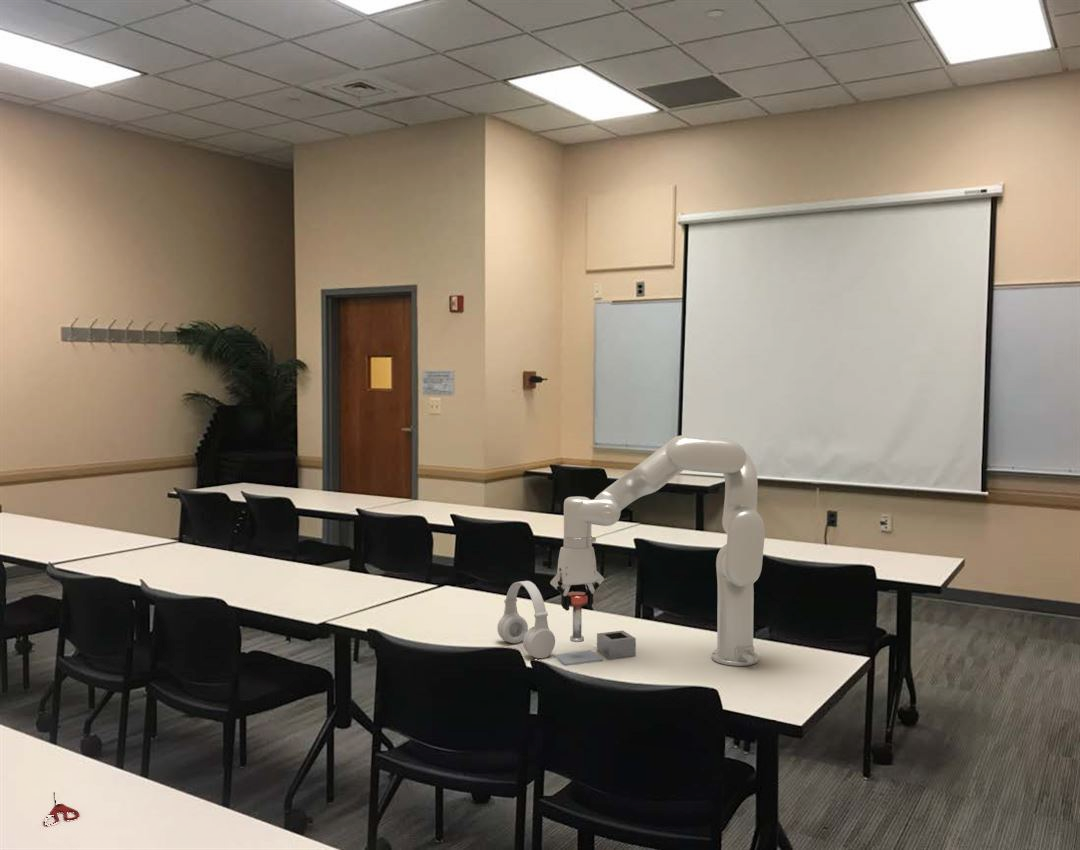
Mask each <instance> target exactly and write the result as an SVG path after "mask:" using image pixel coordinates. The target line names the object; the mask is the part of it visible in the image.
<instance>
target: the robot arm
mask: <svg viewBox="0 0 1080 850" xmlns="http://www.w3.org/2000/svg"><path fill="white" fill-rule="evenodd" d="M683 471H690V472H699V473H700V472H701V473H711V474H722V475H723V478H724V482H725V483H724V485H725V487H724V503H723V511H722V513H723V514H722V519H721V522H722V523H721V524H722V529H723V531H724V533H725V534H727V536H726V537H727V538H726V543H725V545H723V546H721V548H720V549H719V551H718V553H717V555H716V561H715V567H716V580H717V608H716V609H717V615H716V616H717V617H716V618H717V622H716V623H717V626H716V627H717V628H716V629H717V632H716V633H717V634H716V635H717V638H716V640H717V645H716V649H714V650H713V651H712V652H711V653H710V655H711V659H712V660H713V661H714V662H715V663H717V664H723V665H726V666H727V665H728V666H731V667H732V666H734V667H746V666H752V665H755V664H757V663H758V662H759V661H760V656H759V654H758V653H756V652H755V646H754V605H755V604H754V599H755V598H754V595H755V592H754V590H755V589H754V583H755V582H756V581H758V579H759V577H760V576H761V573H762V569H763V568H762V567H763V559H764V558H763V557H764V550H765V549H764V548H765V535H766V530H765V523H764V520H763V518H762V516H761V515H760V513H758V508H757V507H758V506H757V505H758V488H759V487H758V473H757V471H756V467H755V465H754V463H753V460H752V459H751V458H750V456H749V454H748V453H747V452H746V450H745V448H744V447H743V446H742V445H741V444H740V443H739V442H737V441H734V440H732V439H729V438H718V439H716V440H713V439H712V440H711V439H699V438H693V437H690V436H687V435H678V436H675V437H673V438H672V439H670V440H669V441H667V442H666V443H664V444H663V445H662V446H661V447H660V448H658V449H657V450H656V451H654V452H653V453H651V455H649V457H647V458H645V459H644V460H643V461H642V462H641V463H639V464H637V465H636V466H635V467H634V468H632V469H631V470H629V471H628V472H627V473H625V474H624V475H622V476H621V477H619V478H618V479H616V481H614V482H613V483H612V484H610V485H609V486H607V487H606V488H605V489H604V490H602V491H601V492H600V493H599V494H598V495H596V497H594V499H590V498H589V497H586V496H580V495H579V496H577V495H576V496H568V497H567V498H565V499H564V502H563V546H561V547H560V550H559V555H558V559H557V573H556V574H555V575H554V576H553V578H552V579H551V580H550V582H549V583H550V585H551V586H552V587H554V589H555V590H557V591H558V593H560V595H561V596H560V597H561V598H560V599H561V600H560V601H561V607H562V609H563V610H565V612H567V611H569V610H570V605H569V596H568V593H569V592H570V588H571V586H581V585H585V589H586V591H585V593H587V594H588V604H587V605H584V606H585V607H587V608H589V609H592V608H593V604H594V594H595V592H596V590H597V589H598V588H599V587H600V585H601V584H602V583H603V581H605V578H604V576H603V575H602V574H601V573H600V572H599V571H598V570H597V559H596V555H595V549H594V547H593V546H592V545H593V543H596V542H597V538H596V537H595V536H593V535H592V525H596V526H602V527H610V526H613V525H615V524H616V523H617V522H618V521H619V520H620V517H621V512H622V510H624V509H625V508H626V507H627V506H629V505H630V504H632V503H633V502H634V501H636V500H638V499H639V498H641V497H644V496H648V495H650V494H653V493H655V492H657V491H659V490H660V489H661V488H663V487H664V486H665V485H666V484H667V483H668V482H670V481H671V480H673V479H674V478H675V477H677V476H678V475H679V474H681V473H682V472H683ZM558 582H559V583H562V584H561V585H559V583H558Z"/></svg>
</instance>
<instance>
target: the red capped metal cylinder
mask: <svg viewBox="0 0 1080 850" xmlns="http://www.w3.org/2000/svg"><path fill="white" fill-rule="evenodd" d="M585 592H586V591H585ZM585 592H584V591H569V592H568V596H569V606H572V635H570V637H569V641H570V642H572V643H581V642H584V641H585V636H584V635H582V634H583V633H582V632H583V631H582V624H583V623H582V616H583V615H582V613H583V608H582V607H583V606H585V605H587V604H588V594H587V593H585Z"/></svg>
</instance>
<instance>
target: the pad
mask: <svg viewBox="0 0 1080 850" xmlns="http://www.w3.org/2000/svg"><path fill="white" fill-rule="evenodd" d="M553 657H554V658H555V657H556V658H557V659H558V660H557V659H556V658H555V659H556V660H557V661H558V662H560V663H561V665H563V666H572V665H579V664H587V663H592V662H593V663H594V662H602V661H603V658H602V657H601V656H599V655H598V654H597V653H596V652H594V651H592V650H591V649H590V650H581V651H574V652H573V651H572V652H565V653H558V654H553Z"/></svg>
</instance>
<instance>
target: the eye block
mask: <svg viewBox="0 0 1080 850" xmlns="http://www.w3.org/2000/svg"><path fill="white" fill-rule="evenodd" d="M636 641H637V639H636V637H634V636H633V635H631V634H629V633H628V632H626V631H624V630H616V631H615V630H614V631H607V632H600V633H599V632H598V633H596V652H598V653H599V654H601V655H602V656H604V658H606V659H607V660H609V661H611V660H617V659H624V658H634V657H636V655H637V653H636V651H637V650H636V649H637V648H636V643H637V642H636Z"/></svg>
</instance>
